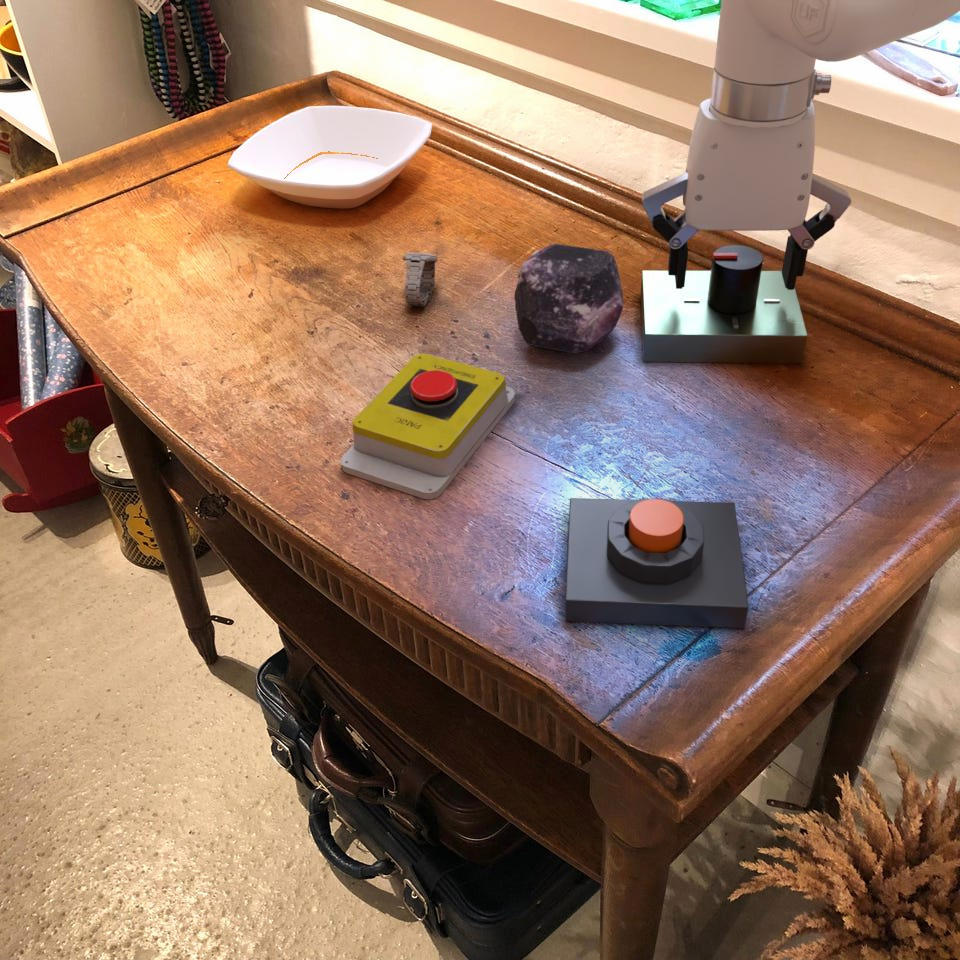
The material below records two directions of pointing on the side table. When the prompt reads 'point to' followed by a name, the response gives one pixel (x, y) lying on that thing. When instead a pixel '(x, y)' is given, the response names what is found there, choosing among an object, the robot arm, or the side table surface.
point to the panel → (719, 322)
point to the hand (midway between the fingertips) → (733, 281)
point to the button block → (655, 568)
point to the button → (656, 526)
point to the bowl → (331, 174)
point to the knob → (734, 279)
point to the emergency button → (426, 425)
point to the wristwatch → (419, 278)
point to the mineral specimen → (568, 297)
